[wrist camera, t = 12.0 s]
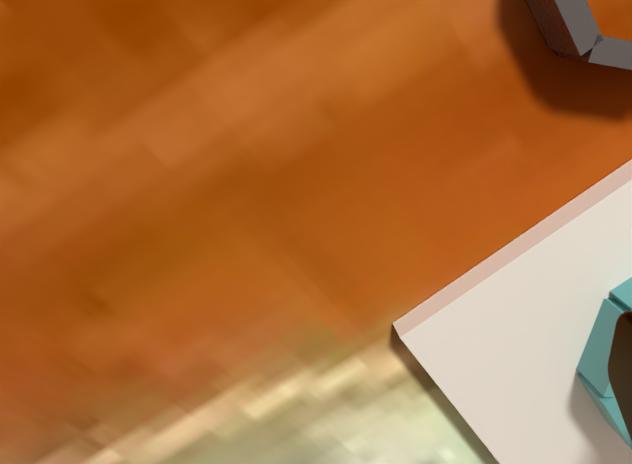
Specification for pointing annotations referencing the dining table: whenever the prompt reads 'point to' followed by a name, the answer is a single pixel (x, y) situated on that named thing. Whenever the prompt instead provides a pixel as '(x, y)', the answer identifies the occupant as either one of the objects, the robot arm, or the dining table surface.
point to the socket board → (538, 334)
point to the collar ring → (578, 33)
